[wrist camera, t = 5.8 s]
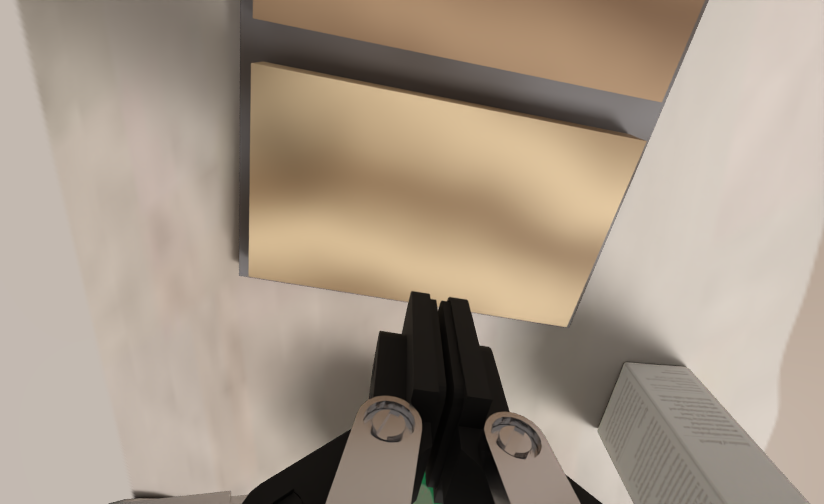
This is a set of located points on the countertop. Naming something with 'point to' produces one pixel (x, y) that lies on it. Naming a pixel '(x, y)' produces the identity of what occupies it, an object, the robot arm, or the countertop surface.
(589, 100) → the floor board
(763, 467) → the skincare box
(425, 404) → the robot arm
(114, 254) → the countertop surface
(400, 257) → the oak plank
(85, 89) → the countertop surface
